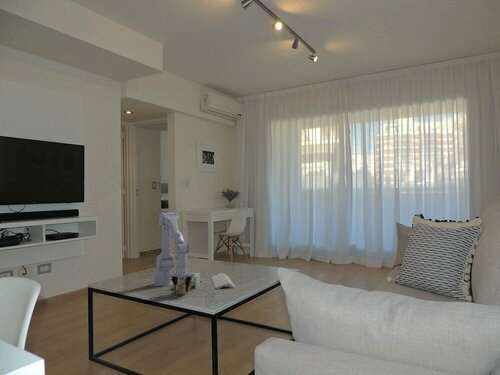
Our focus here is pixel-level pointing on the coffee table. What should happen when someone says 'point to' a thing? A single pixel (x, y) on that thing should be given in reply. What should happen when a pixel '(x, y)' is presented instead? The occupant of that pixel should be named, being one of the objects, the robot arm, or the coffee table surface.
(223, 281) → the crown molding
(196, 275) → the tunnel
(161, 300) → the coffee table surface
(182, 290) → the brown rectangular box
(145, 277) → the coffee table surface
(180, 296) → the rail
